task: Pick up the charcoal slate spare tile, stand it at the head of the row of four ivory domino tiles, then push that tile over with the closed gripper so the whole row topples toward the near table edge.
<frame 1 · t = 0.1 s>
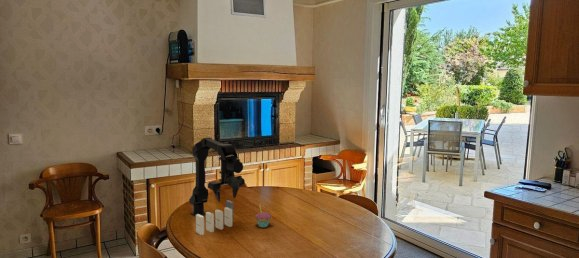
hand: (226, 199, 201), 15 cm above the table, fingers open, 9 cm apart
domino 2: (219, 228, 202), on the table
cupcake: (263, 226, 206), on the table
domino 4: (200, 233, 194), on the table
domino 1: (228, 225, 206), on the table
domino 3: (209, 230, 198), on the table
slate tile: (229, 217, 218), on the table
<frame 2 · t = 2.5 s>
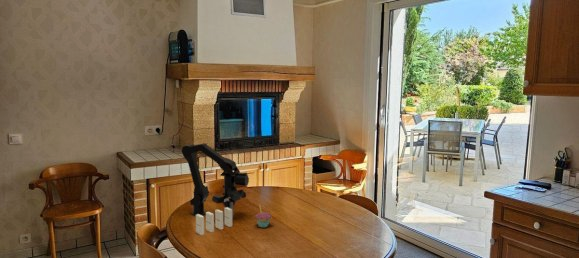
hand: (229, 211, 218), 3 cm above the table, fingers closed on slate tile, 2 cm apart
slate tile: (229, 217, 218), on the table, touching gripper
everything else where it was.
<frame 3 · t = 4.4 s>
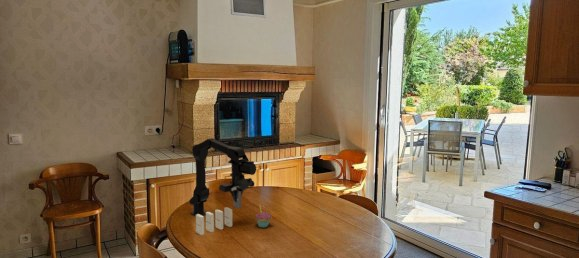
hand: (237, 201, 208), 12 cm above the table, fingers closed on slate tile
slate tile: (237, 207, 208), point 9 cm above the table, touching gripper
everything else where it was.
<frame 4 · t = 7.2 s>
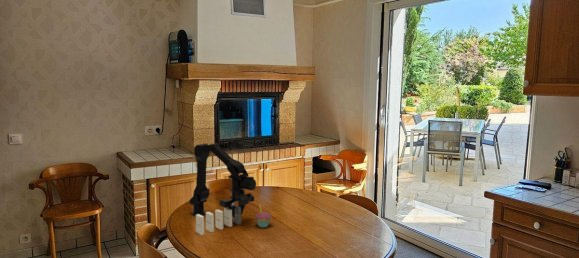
hand: (237, 216, 209), 4 cm above the table, fingers open, 4 cm apart
domino 1: (228, 225, 206), on the table, touching gripper
slate tile: (237, 223, 209), on the table
everything else where it was.
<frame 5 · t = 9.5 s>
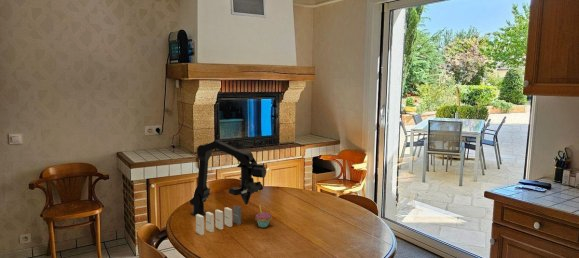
hand: (246, 204, 212), 9 cm above the table, fingers closed
domino 1: (228, 225, 206), on the table
everything else where it was.
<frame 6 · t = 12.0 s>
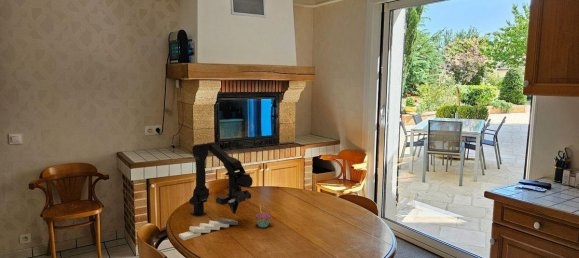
hand: (233, 213, 207), 5 cm above the table, fingers closed
domino 2: (217, 227, 201), point 1 cm above the table, tilted 73°, touching domino 1, domino 3
domino 4: (198, 232, 194), point 1 cm above the table, tilted 90°, touching domino 3
domino 1: (226, 224, 205), point 1 cm above the table, tilted 73°, touching domino 2, slate tile
domino 3: (207, 229, 197), point 1 cm above the table, tilted 74°, touching domino 2, domino 4
slate tile: (235, 222, 208), point 1 cm above the table, tilted 73°, touching domino 1
everything else where it was.
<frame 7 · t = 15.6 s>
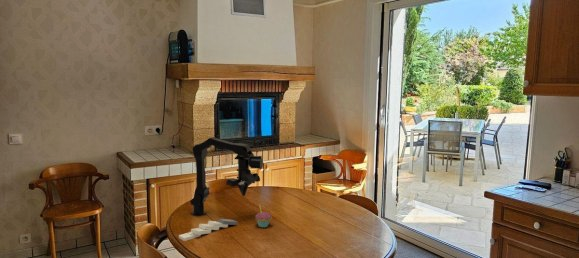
hand: (243, 195, 215), 12 cm above the table, fingers closed
at the end: domino 4 tilted 89°; slate tile tilted 73° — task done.
